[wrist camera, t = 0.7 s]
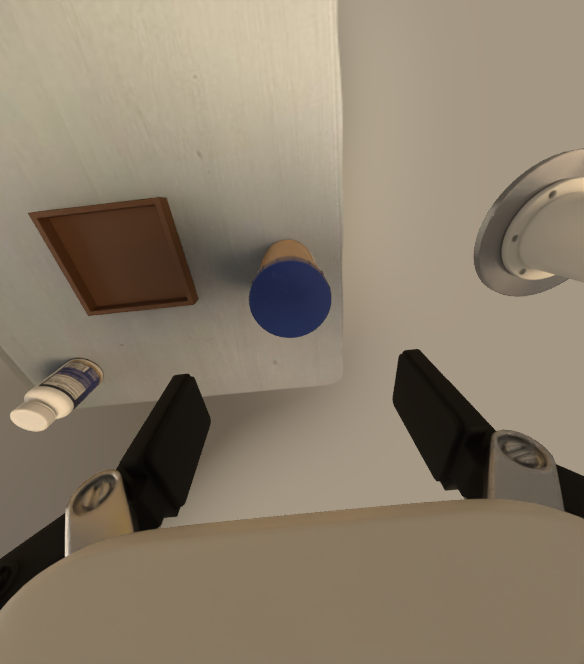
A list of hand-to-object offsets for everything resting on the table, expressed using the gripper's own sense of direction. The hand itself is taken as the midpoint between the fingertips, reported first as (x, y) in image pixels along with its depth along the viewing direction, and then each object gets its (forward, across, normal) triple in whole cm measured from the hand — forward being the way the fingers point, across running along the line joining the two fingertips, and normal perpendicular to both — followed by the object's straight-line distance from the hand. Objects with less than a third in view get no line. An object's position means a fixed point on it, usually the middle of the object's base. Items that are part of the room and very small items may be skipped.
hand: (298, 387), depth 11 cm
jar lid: (+11, 0, 0) cm, 11 cm away
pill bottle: (+23, +34, +13) cm, 43 cm away
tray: (+23, +20, -3) cm, 30 cm away
